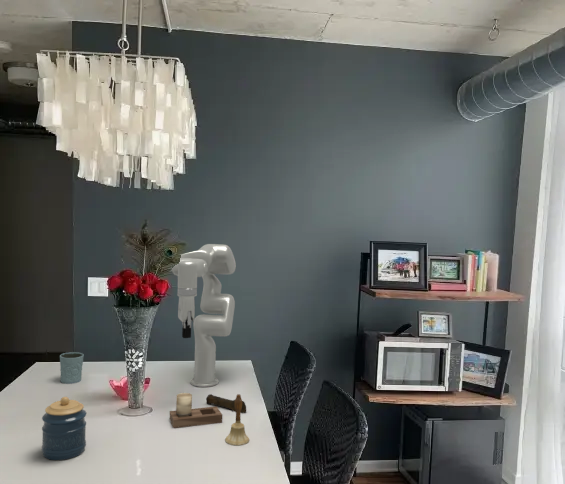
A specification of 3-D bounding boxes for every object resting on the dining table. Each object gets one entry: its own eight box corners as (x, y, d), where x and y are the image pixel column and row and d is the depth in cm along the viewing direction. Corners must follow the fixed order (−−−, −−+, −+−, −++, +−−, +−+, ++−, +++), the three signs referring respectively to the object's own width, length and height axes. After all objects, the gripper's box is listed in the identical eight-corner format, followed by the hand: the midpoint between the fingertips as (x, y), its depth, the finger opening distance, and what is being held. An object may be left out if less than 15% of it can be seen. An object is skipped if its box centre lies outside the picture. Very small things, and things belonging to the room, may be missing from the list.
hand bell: (253, 442, 176) (254, 396, 175) (231, 447, 172) (232, 400, 171) (243, 433, 183) (244, 389, 182) (221, 438, 179) (222, 392, 178)
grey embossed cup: (65, 377, 240) (66, 351, 240) (87, 378, 240) (87, 352, 239) (55, 383, 230) (55, 357, 230) (77, 384, 230) (77, 358, 229)
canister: (63, 440, 173) (64, 388, 173) (94, 447, 169) (95, 394, 168) (32, 456, 161) (32, 400, 160) (64, 464, 156) (65, 406, 156)
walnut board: (169, 419, 194) (169, 411, 194) (216, 413, 201) (216, 406, 201) (173, 428, 186) (173, 419, 186) (222, 422, 192) (222, 414, 192)
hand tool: (205, 405, 211) (205, 393, 211) (211, 402, 214) (212, 391, 214) (241, 416, 200) (241, 404, 200) (247, 413, 204) (248, 401, 203)
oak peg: (174, 420, 193) (175, 393, 193) (189, 418, 195) (190, 392, 195) (177, 425, 188) (177, 398, 188) (192, 424, 190) (193, 397, 190)
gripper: (174, 289, 211) (173, 333, 212) (181, 295, 197) (180, 343, 198) (192, 288, 214) (192, 332, 215) (200, 294, 200) (199, 341, 201)
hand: (186, 337), depth 207 cm, fingers closed
